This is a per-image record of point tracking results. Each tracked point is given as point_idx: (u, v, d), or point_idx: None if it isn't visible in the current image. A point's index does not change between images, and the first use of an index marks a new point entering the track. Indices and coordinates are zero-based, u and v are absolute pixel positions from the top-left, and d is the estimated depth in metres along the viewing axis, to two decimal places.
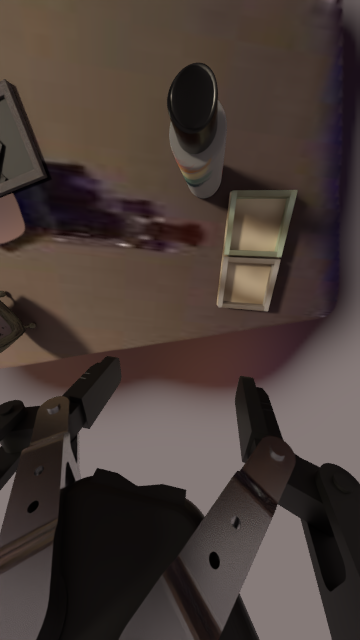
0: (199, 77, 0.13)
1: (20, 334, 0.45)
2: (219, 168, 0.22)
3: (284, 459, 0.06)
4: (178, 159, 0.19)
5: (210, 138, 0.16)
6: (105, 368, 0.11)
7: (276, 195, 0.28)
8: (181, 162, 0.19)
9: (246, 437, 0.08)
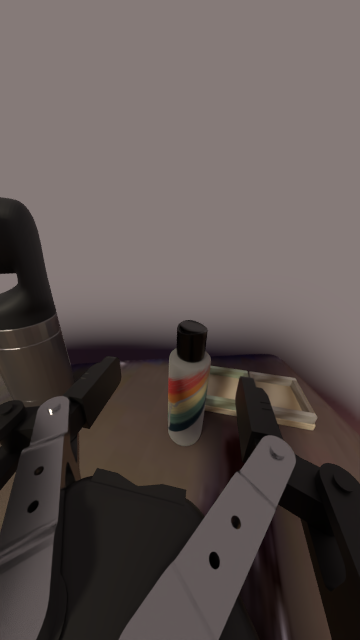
0: (185, 322, 0.23)
1: None
2: None
3: (284, 459, 0.06)
4: (204, 368, 0.23)
5: None
6: (105, 368, 0.11)
7: None
8: (206, 366, 0.23)
9: (246, 437, 0.08)
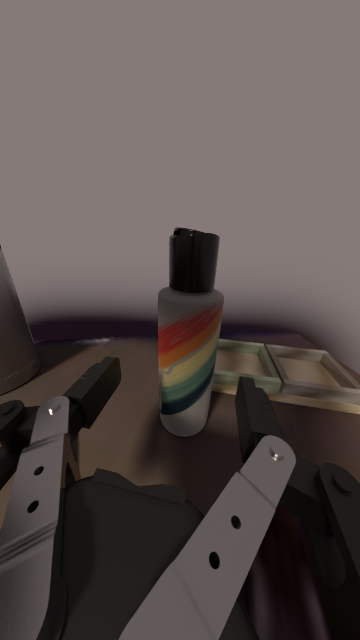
0: None
1: None
2: None
3: (284, 459, 0.06)
4: (214, 302, 0.14)
5: None
6: (105, 368, 0.11)
7: None
8: (218, 300, 0.14)
9: (246, 437, 0.08)
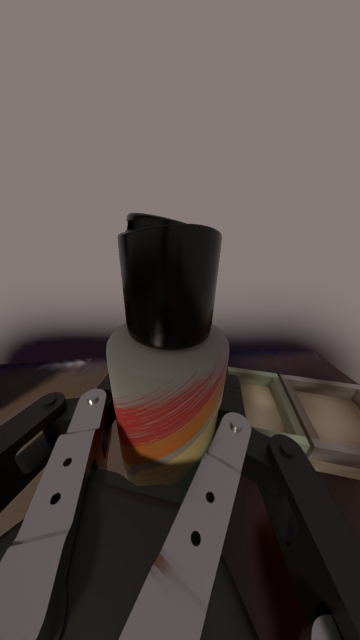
0: None
1: None
2: None
3: (241, 431, 0.07)
4: (211, 367, 0.07)
5: None
6: None
7: None
8: (218, 362, 0.07)
9: None
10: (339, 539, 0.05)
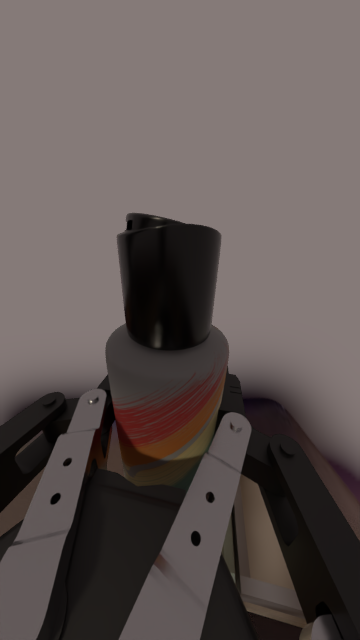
0: None
1: None
2: None
3: (241, 431, 0.07)
4: (211, 368, 0.07)
5: None
6: None
7: None
8: (218, 363, 0.07)
9: None
10: (340, 539, 0.05)
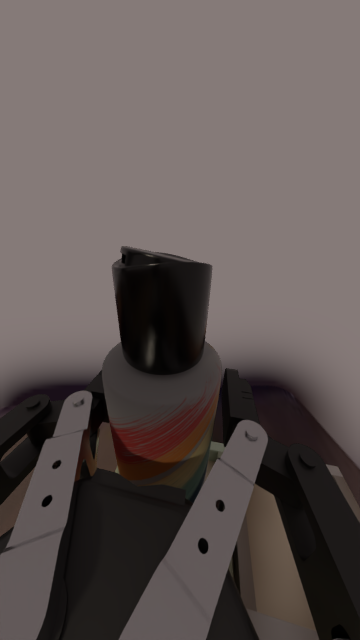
0: (144, 250, 0.07)
1: None
2: None
3: (257, 440, 0.07)
4: (202, 392, 0.07)
5: None
6: None
7: None
8: (209, 387, 0.07)
9: (227, 423, 0.09)
10: None
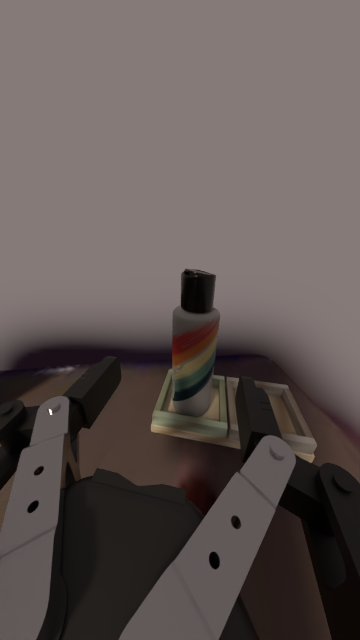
0: (190, 269, 0.20)
1: None
2: None
3: (284, 459, 0.06)
4: (212, 319, 0.20)
5: None
6: (105, 368, 0.11)
7: (169, 380, 0.30)
8: (215, 318, 0.20)
9: (246, 437, 0.08)
10: None
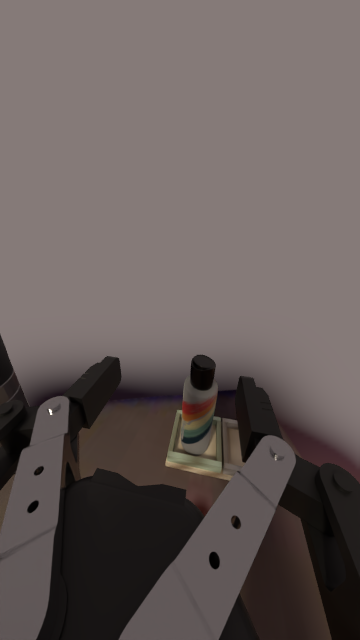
0: (198, 358, 0.29)
1: None
2: None
3: (284, 459, 0.06)
4: (213, 395, 0.28)
5: None
6: (105, 368, 0.11)
7: (177, 421, 0.38)
8: (214, 393, 0.28)
9: (246, 437, 0.08)
10: None
